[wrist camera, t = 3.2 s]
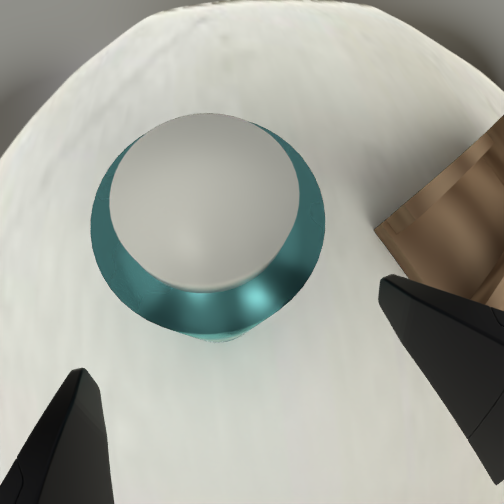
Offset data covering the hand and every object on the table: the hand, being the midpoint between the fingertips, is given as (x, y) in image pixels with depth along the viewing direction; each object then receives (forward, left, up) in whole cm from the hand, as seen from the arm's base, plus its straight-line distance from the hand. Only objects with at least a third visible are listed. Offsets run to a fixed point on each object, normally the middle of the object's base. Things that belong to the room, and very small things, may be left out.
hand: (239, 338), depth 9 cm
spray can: (+1, +3, -10) cm, 10 cm away
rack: (+20, -9, -10) cm, 24 cm away
